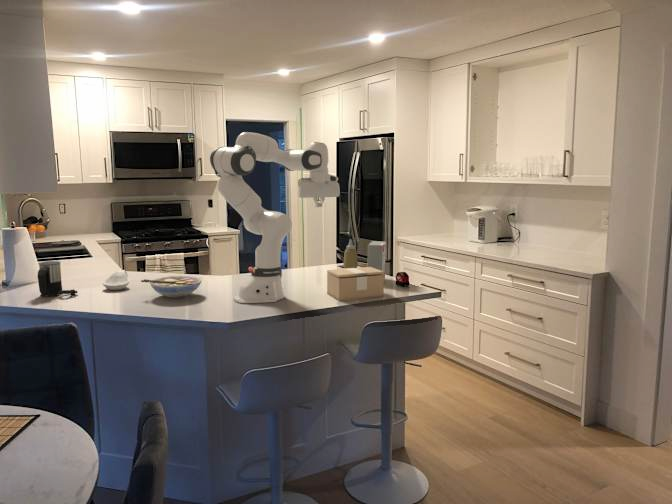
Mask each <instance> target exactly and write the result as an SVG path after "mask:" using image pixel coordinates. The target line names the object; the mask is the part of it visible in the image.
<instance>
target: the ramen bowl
mask: <svg viewBox="0 0 672 504" xmlns="http://www.w3.org/2000/svg"><path fill="white" fill-rule="evenodd" d="M202 281H203V278H202V277H200V276H196V275H187V274H183V275H182V274H180V275H167V276H161V277H157V278H153V279H143V280H140V282H141V283H149V284H150V286H151V288H152V289H153V290H154V291H155V292H156V293H157V294H160V295H162V296H165V297H167V298H171V299H179V298H184V297H186V296H188V295H190V294H192V293H194V292H195V291H196V290H197V289H198V288H199V287H200V285H201V284H202Z"/></svg>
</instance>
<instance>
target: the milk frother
mask: <svg viewBox="0 0 672 504" xmlns="http://www.w3.org/2000/svg"><path fill="white" fill-rule="evenodd" d="M38 267H39V269H38V271H37V281H38V288H39V289H38V291H39V293H40V296H41V297H56V296H60V295H70V296H75V295H76V294H78V293H79V292H78V290H75V289H74V288H73V289H67V290H66V289H64V290H63V285H62V272H61V261H59V260H56V261H55V260H54V261H53V260H52V261H51V260H48V261H40V262H38Z"/></svg>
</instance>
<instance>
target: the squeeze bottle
mask: <svg viewBox="0 0 672 504" xmlns="http://www.w3.org/2000/svg"><path fill="white" fill-rule="evenodd" d="M353 244H354V243H353V240H352V239H351V238H349V242H348V245H346V248H345V250H344V253H343V254H344V255H343V262H342V263H343V265H342V266H343V269H346V268H358V266H359V262H358V251H357V249H356V245H353Z"/></svg>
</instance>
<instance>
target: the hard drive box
mask: <svg viewBox="0 0 672 504" xmlns="http://www.w3.org/2000/svg"><path fill="white" fill-rule="evenodd" d="M386 248H387V242H386V241H380V240H379V241H377V240H376V241H375V240H372V241H370V242H369V243H368V245H367V262H366V263H367V264H366V267H372V268H375V269H378V270H381V271H384V274H383V275H384V280H385V278H386V257H387V256H386V255H387V254H386V251H387V249H386Z"/></svg>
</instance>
